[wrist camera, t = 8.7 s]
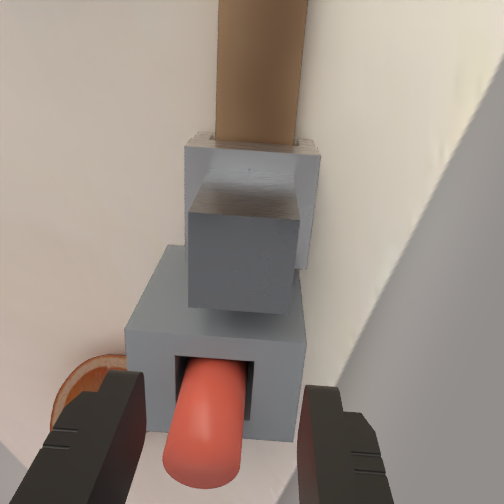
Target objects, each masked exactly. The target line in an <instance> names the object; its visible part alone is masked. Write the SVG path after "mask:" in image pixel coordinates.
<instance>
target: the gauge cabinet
mask: <svg viewBox="0 0 504 504" xmlns="http://www.w3.org/2000/svg"><path fill="white" fill-rule="evenodd" d="M124 331H125V345H126V358H127V371H137V372H143V374H144V381H145V399H146V418H147V425H146V431H154V432H167V433H169V430H170V426H171V422H172V419H173V415H174V411H175V407H176V404H177V400H178V396H179V392H180V389H181V385H182V381H183V377H184V374H185V370H186V366H187V362H188V359H189V356H190V357H203V358H216V359H229V360H242V361H248V370H247V383H246V396H245V409H244V421H243V434H242V438H244V439H257V440H269V441H282V442H293V439H294V431H295V424H296V417H297V410H298V403H299V395H300V388H301V381H302V374H303V367H304V359H305V352H306V345H307V341H306V332H305V324H304V315H303V306H302V297H301V288H300V279H299V270H298V269H295V270H294V278H293V287H292V296H291V305H290V313H289V315H285V314H271V313H258V312H244V311H231V310H218V309H204V308H191V307H188V261H186V260H185V246H175V245H168V246H167V248H166V250H165V252H164V254H163V256H162V257H161V259H160V261H159V263H158V265H157V267H156V269H155V271H154V273H153V275H152V277H151V279H150V281H149V283H148V285H147V287H146V289H145V291H144V292H143V294H142V296H141V298H140V300H139V302H138V304H137V306H136V308H135V310H134V312H133V314H132V316H131V318H130V320H129V322H128V324H127V325H126V327H125V329H124Z"/></svg>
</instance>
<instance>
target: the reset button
mask: <svg viewBox="0 0 504 504" xmlns="http://www.w3.org/2000/svg"><path fill="white" fill-rule="evenodd" d="M247 370H248V361H242V360H229V359H216V358H203V357H190V356H189V359H188V362H187V366H186V370H185V374H184V377H183V381H182V385H181V389H180V392H179V396H178V400H177V404H176V407H175V411H174V415H173V419H172V422H171V426H170V430H169V434H168V438H167V441H166V445H165V449H164V453H163V465H164V467H165V469H166V471H167V472H168V474H169V475H170V476H171V477H172V478H174V479H175V480H176V481H178V482H180V483H181V484H184V485H186V486H189V487H193V488H199V489H211V488H217V487H221V486H223V485H225V484H227V483H229V482H230V481H232V480H233V479H234V478H235V477H236V475H237V474H238V472H239V469H240V460H241V447H242V434H243V421H244V409H245V396H246V383H247Z"/></svg>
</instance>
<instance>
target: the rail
mask: <svg viewBox="0 0 504 504" xmlns="http://www.w3.org/2000/svg"><path fill="white" fill-rule="evenodd" d="M307 4H308V0H219V11H218V51H217V91H216V130H215V140H220V141H234V142H249V143H263V144H277V145H292V146H293V144H294V134H295V124H296V114H297V104H298V94H299V84H300V74H301V64H302V54H303V44H304V34H305V24H306V14H307Z"/></svg>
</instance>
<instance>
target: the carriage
mask: <svg viewBox="0 0 504 504" xmlns="http://www.w3.org/2000/svg"><path fill="white" fill-rule="evenodd" d="M320 159H321V154H320V152H319V150H318V147H315V145H314V142H313V140H305V139H298V142H297V146H292V145H277V144H263V143H249V142H234V141H220V140H213V133H205V132H198V133H197V134H196V135H195V137H194V138H193V139H190V140H189V141H188V143H187V144H186V145H185V260H186V261H188V307H191V308H204V309H218V310H231V311H244V312H258V313H271V314H285V315H289V313H290V305H291V296H292V287H293V278H294V270H295V269H307V262H308V254H309V246H310V238H311V230H312V222H313V214H314V207H315V199H316V191H317V183H318V175H319V167H320Z"/></svg>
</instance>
